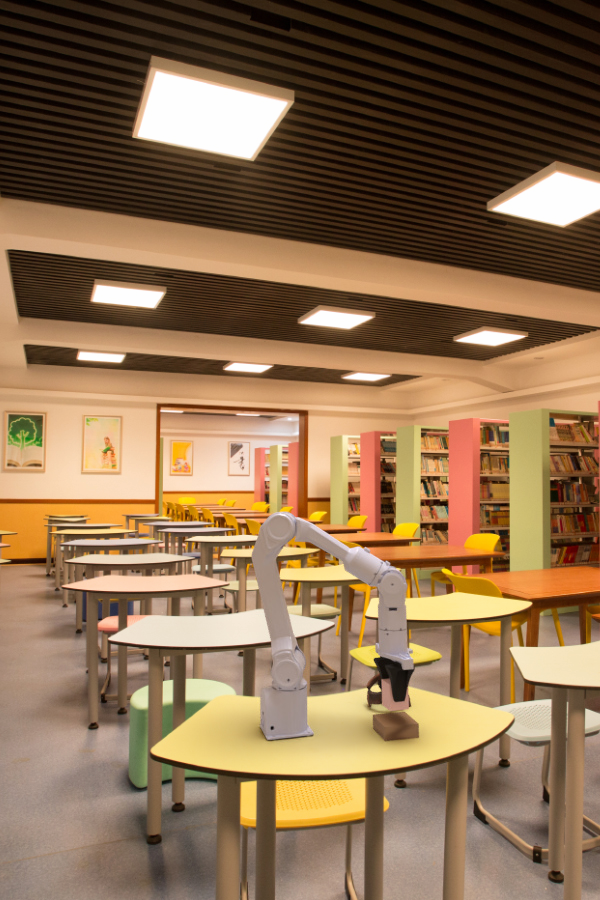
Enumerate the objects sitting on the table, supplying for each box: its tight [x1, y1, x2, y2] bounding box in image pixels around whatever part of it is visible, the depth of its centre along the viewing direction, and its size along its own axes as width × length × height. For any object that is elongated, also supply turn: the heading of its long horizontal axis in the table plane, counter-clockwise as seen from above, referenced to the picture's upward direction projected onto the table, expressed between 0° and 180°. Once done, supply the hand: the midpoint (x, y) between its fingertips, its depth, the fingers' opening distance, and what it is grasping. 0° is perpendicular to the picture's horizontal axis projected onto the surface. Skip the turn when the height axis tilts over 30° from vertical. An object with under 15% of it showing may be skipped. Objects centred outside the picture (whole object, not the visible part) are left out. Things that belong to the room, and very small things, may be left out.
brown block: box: [372, 711, 420, 742], centre depth 118 cm, size 7×7×3 cm
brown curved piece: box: [366, 673, 412, 708], centre depth 135 cm, size 12×10×8 cm
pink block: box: [381, 678, 410, 712], centre depth 118 cm, size 4×4×5 cm
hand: (394, 697), depth 118 cm, fingers closed on pink block, 4 cm apart
